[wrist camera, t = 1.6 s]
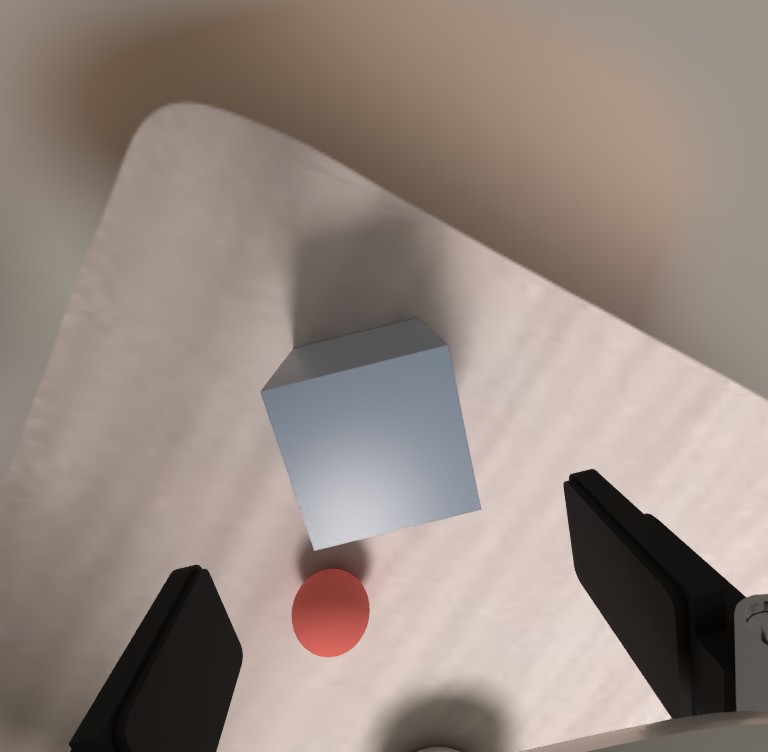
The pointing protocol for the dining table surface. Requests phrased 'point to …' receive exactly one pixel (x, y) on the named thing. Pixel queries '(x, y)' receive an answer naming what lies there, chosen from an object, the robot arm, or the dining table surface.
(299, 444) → the pale blue cube
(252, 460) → the dining table surface
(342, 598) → the ball
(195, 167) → the dining table surface
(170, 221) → the dining table surface
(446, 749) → the teacup
